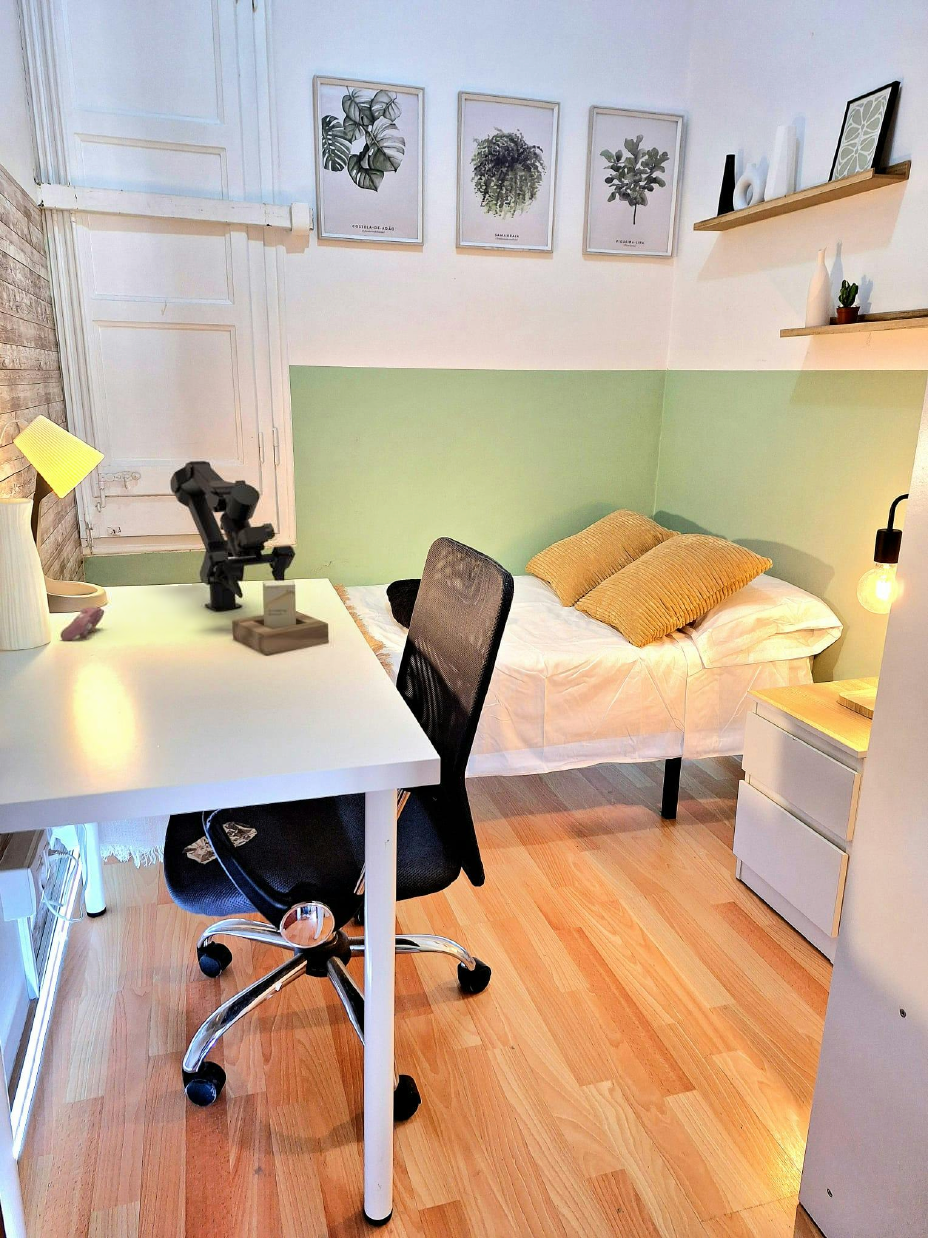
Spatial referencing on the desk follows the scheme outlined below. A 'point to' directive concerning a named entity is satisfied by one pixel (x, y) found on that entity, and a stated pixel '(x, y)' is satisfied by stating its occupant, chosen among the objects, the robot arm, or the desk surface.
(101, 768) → the desk surface
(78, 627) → the pink toy car
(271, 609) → the skincare box
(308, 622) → the frame
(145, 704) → the desk surface
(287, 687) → the desk surface
